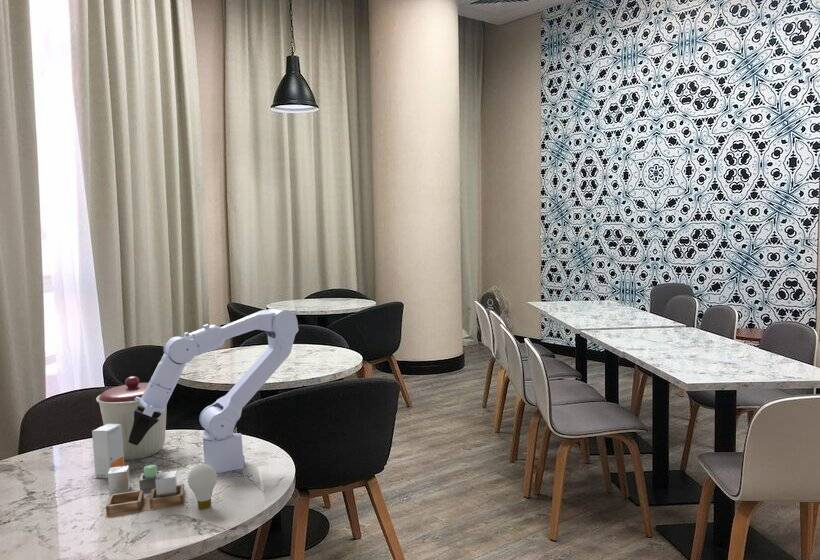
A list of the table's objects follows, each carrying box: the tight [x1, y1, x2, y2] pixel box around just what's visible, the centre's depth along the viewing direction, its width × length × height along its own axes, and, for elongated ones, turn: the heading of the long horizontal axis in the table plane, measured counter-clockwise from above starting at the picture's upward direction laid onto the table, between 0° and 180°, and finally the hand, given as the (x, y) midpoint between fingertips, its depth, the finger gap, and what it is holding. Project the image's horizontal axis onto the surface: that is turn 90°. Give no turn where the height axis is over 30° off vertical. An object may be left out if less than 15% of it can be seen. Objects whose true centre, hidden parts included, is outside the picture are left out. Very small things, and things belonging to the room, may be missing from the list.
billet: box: [107, 464, 132, 496], centre depth 154 cm, size 4×4×6 cm
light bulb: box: [187, 463, 218, 510], centre depth 143 cm, size 6×6×10 cm
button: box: [143, 464, 158, 479], centre depth 156 cm, size 3×3×4 cm
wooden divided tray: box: [104, 483, 186, 518], centre depth 146 cm, size 16×8×3 cm, turn 107°
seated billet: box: [155, 470, 178, 498], centre depth 147 cm, size 4×4×6 cm
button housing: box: [138, 470, 163, 492], centre depth 156 cm, size 5×5×4 cm
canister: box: [95, 375, 168, 461], centre depth 181 cm, size 18×18×21 cm
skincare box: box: [91, 424, 126, 479], centre depth 167 cm, size 6×4×12 cm
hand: (134, 440), depth 155 cm, fingers open, 7 cm apart
